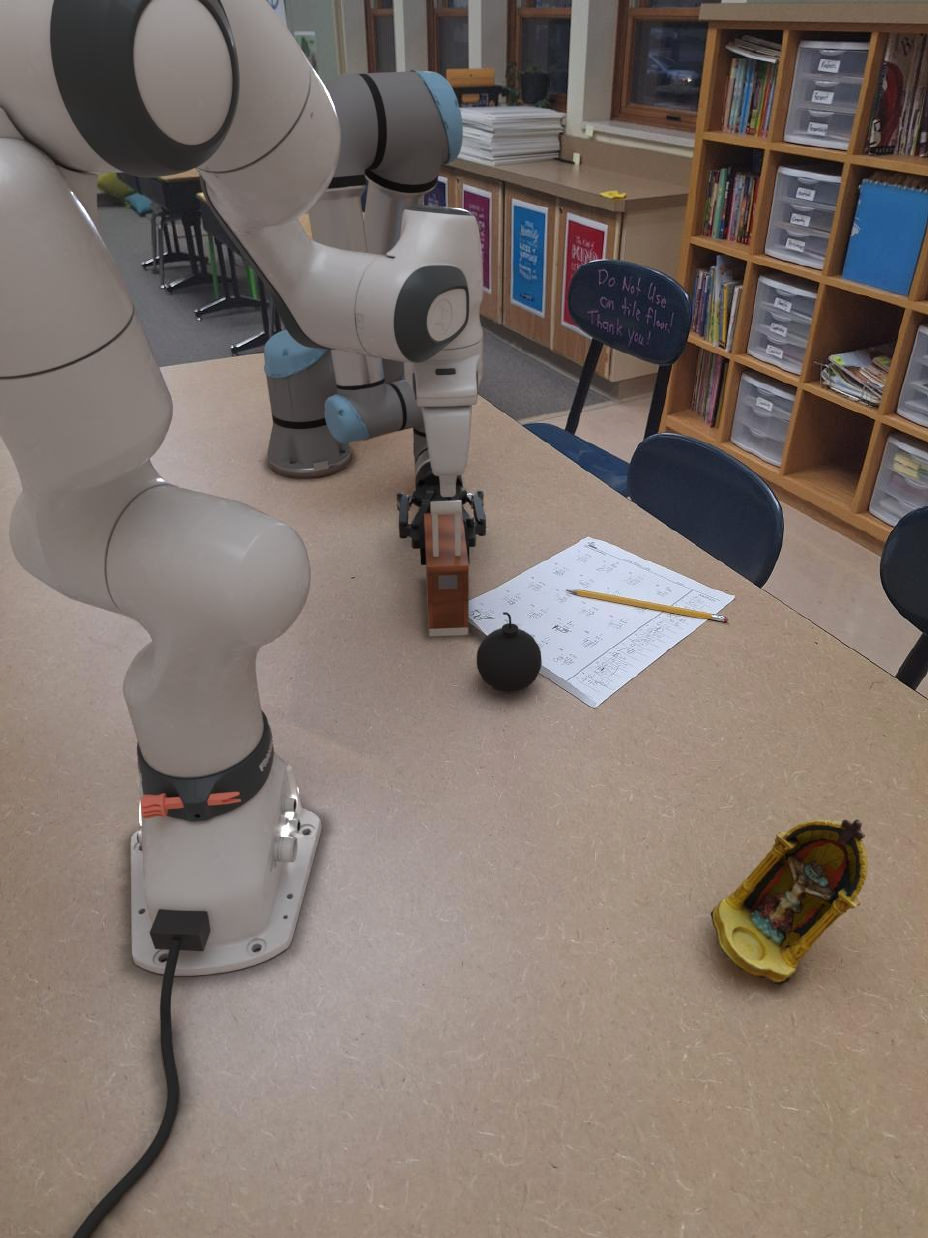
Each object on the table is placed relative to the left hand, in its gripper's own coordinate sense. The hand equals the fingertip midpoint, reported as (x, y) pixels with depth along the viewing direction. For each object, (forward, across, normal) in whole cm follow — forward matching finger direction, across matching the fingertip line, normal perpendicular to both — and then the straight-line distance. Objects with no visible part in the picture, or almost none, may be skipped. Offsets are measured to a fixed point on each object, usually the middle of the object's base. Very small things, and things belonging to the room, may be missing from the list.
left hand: (446, 475), depth 104 cm
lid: (+12, -4, 0) cm, 13 cm away
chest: (+22, -4, 0) cm, 23 cm away
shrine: (+22, +51, +26) cm, 61 cm away
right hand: (+16, -7, 0) cm, 17 cm away
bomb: (+22, +13, +7) cm, 27 cm away
